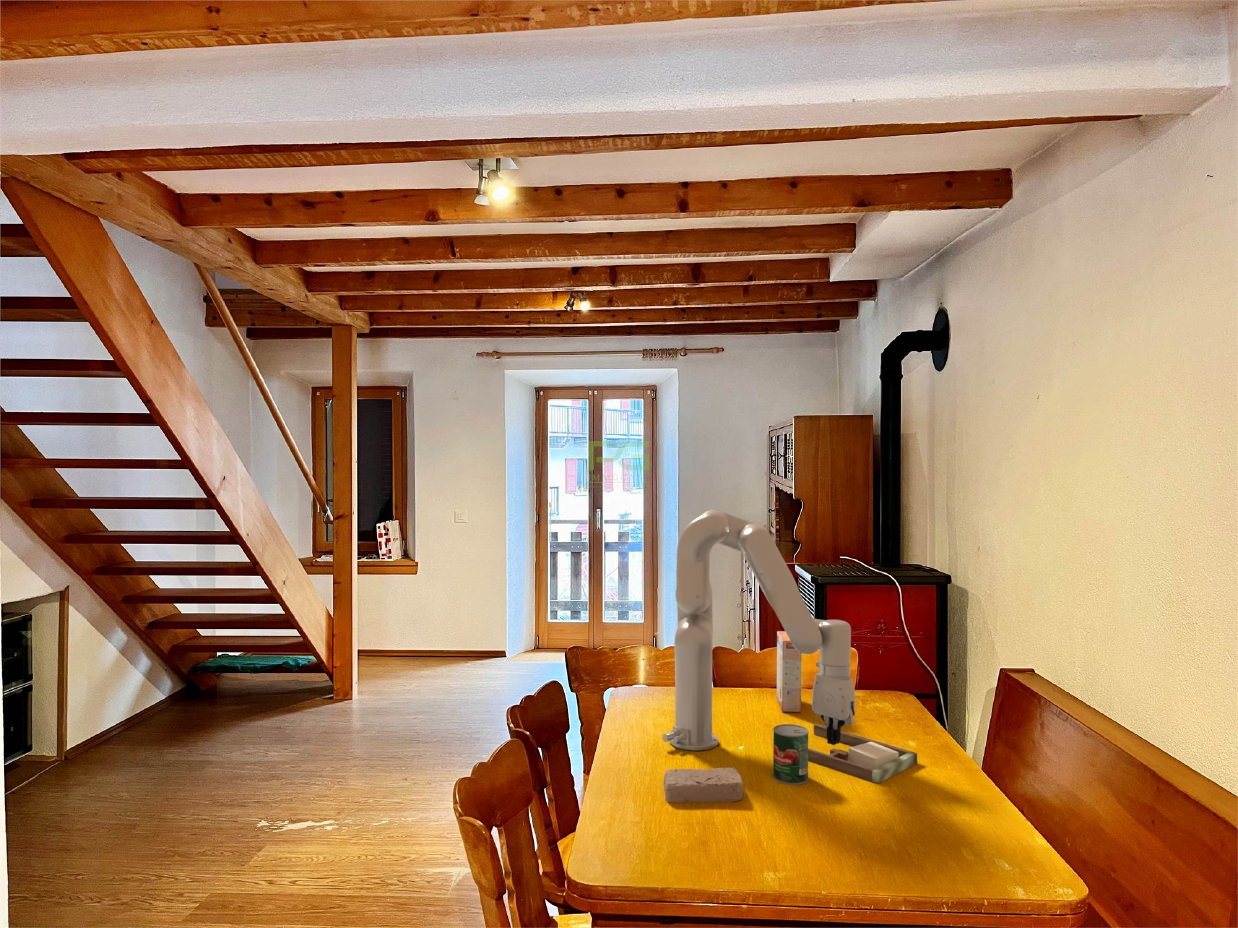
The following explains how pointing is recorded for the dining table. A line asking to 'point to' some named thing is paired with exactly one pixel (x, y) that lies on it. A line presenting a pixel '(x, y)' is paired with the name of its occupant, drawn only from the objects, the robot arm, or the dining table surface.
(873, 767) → the cream block
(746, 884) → the dining table surface
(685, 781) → the brick
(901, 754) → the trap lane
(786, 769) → the canned tomato
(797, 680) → the cracker box
